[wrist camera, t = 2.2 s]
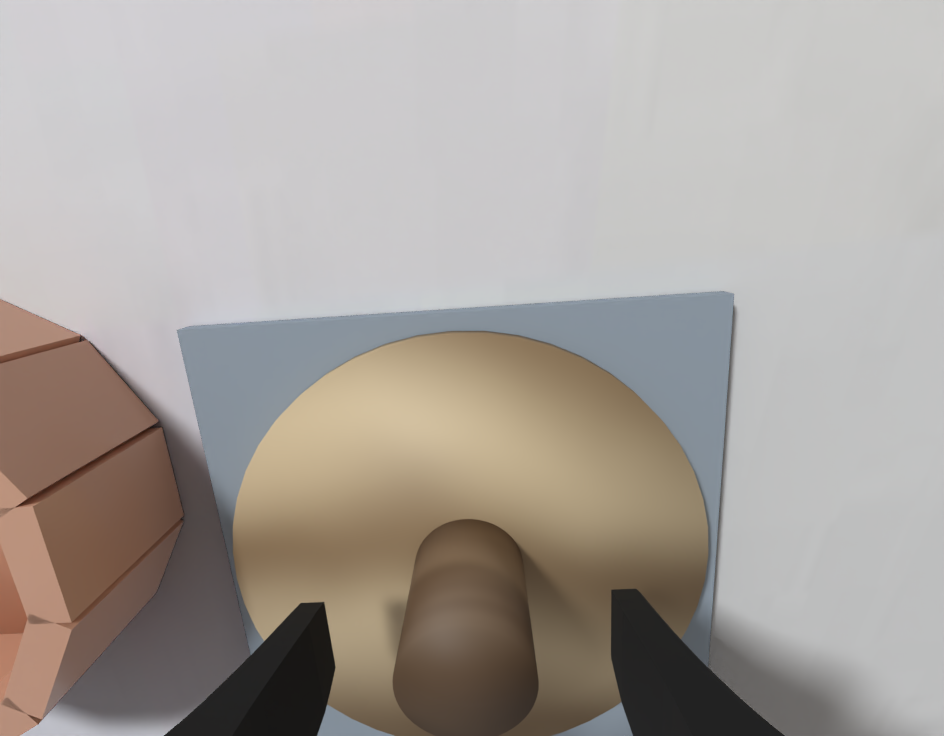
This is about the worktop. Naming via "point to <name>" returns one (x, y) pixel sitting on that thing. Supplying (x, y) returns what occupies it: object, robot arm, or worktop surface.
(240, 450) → the rubber mat
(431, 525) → the oak lid
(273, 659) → the robot arm
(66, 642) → the terracotta bowl
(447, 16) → the worktop surface
